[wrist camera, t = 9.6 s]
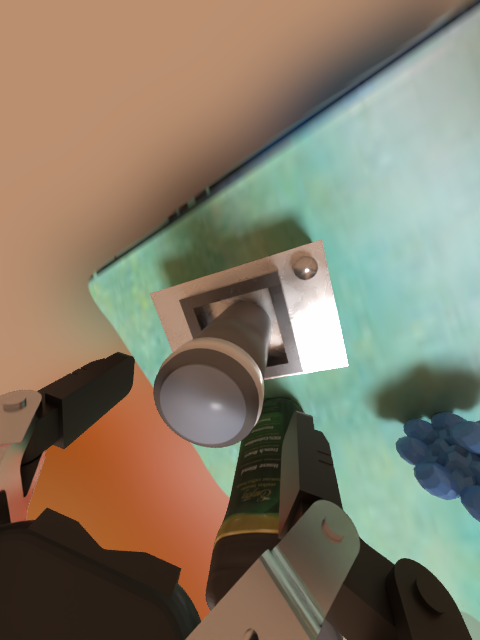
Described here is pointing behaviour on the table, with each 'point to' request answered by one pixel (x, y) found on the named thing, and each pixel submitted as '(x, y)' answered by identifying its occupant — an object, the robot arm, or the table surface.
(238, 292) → the box with square recess
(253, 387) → the flashlight
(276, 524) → the coffee jar
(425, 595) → the robot arm
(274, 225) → the table surface
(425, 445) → the grapes
